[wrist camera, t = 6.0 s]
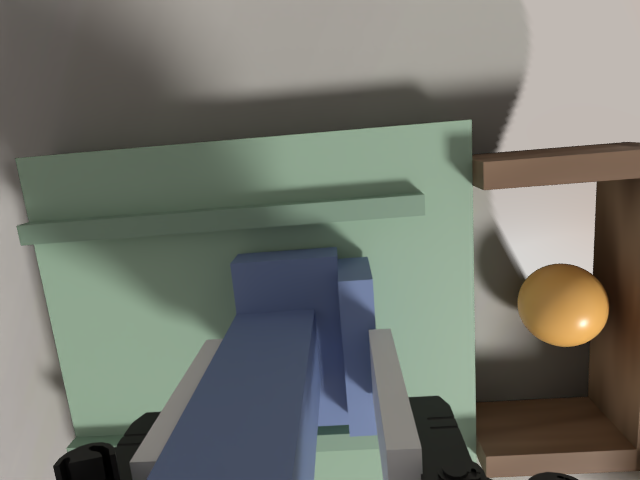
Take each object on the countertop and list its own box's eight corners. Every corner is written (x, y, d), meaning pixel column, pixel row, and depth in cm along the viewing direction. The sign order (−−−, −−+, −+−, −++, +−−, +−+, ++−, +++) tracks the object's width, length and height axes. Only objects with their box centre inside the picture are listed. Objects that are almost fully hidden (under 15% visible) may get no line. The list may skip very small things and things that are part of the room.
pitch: (50, 154, 22) (1, 159, 19) (456, 120, 21) (477, 119, 18) (113, 465, 26) (80, 513, 22) (463, 448, 25) (481, 496, 21)
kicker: (235, 254, 20) (13, 528, 6) (366, 244, 20) (431, 510, 6) (255, 409, 21) (110, 897, 8) (377, 402, 21) (445, 896, 8)
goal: (457, 155, 21) (483, 162, 17) (627, 142, 21) (692, 145, 17) (462, 421, 24) (486, 477, 20) (612, 413, 24) (665, 469, 20)
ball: (530, 251, 23) (506, 272, 20) (617, 258, 21) (604, 282, 18) (529, 321, 24) (506, 350, 21) (612, 335, 22) (600, 369, 19)
